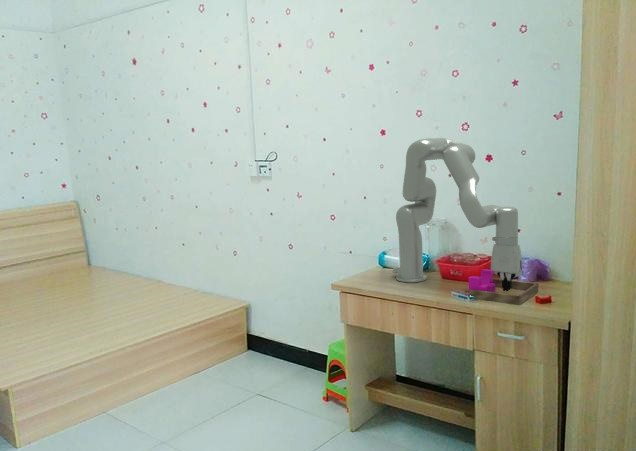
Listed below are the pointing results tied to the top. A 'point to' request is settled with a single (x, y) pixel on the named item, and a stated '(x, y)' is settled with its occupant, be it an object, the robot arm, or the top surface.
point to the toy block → (482, 281)
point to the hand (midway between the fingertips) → (506, 290)
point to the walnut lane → (507, 298)
